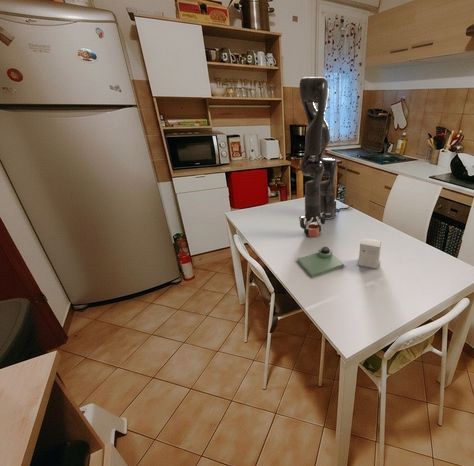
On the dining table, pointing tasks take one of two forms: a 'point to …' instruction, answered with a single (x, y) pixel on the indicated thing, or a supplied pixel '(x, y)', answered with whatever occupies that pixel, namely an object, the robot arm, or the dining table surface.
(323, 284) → the dining table surface
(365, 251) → the small box
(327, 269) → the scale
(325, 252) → the tare button
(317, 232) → the bowl
